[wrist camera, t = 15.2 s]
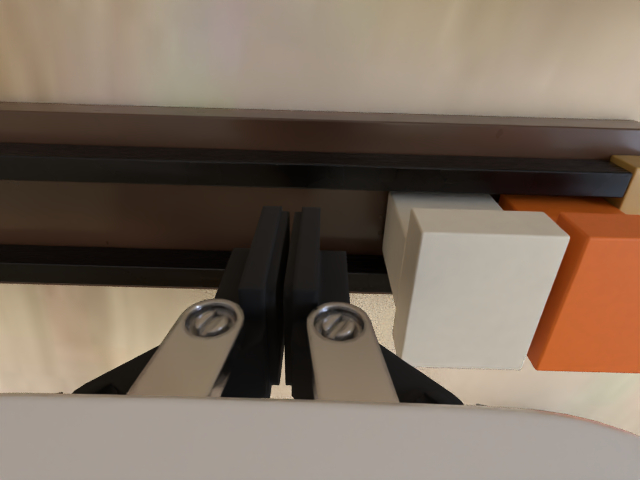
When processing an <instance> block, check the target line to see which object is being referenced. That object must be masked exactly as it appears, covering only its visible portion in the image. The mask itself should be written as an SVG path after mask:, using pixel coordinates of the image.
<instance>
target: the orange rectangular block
mask: <svg viewBox="0 0 640 480" xmlns="http://www.w3.org/2000/svg"><path fill="white" fill-rule="evenodd" d="M498 205H499V206H500V207H501V208H502V209H503V211H532V212H544V213H545V214H546V215H547V216H548V217H550V218H551V219H552V220H553V221H554V222H555V223H556V224H557V225H558V226H559V227H560V228H561V229H562V230H564V231H565V232H566V233H567V234H568V235H569V236H570V240H569V243H568V245H567V248H566V251H565V253H564V256H563V259H562V261H561V264H560V267H559V269H558V272H557V275H556V277H555V280H554V283H553V285H552V288H551V291H550V293H549V296H548V299H547V301H546V304H545V307H544V309H543V312H542V315H541V317H540V320H539V323H538V326H537V328H536V331H535V334H534V336H533V339H532V342H531V344H530V347H529V350H528V352H527V356H528V358H529V360H530V361H531V363H532V365H533V366H534V368H535V369H536V370H541V371H577V372H613V373H640V215H630V214H625V213H623V212H622V211H621V210H619V209H618V208H616V207H615V206H613V205H612V204H610V203H609V202H607V201H606V200H604V199H603V198H601V197H574V196H539V195H505V194H501V195H500V199H499V203H498Z"/></svg>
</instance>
